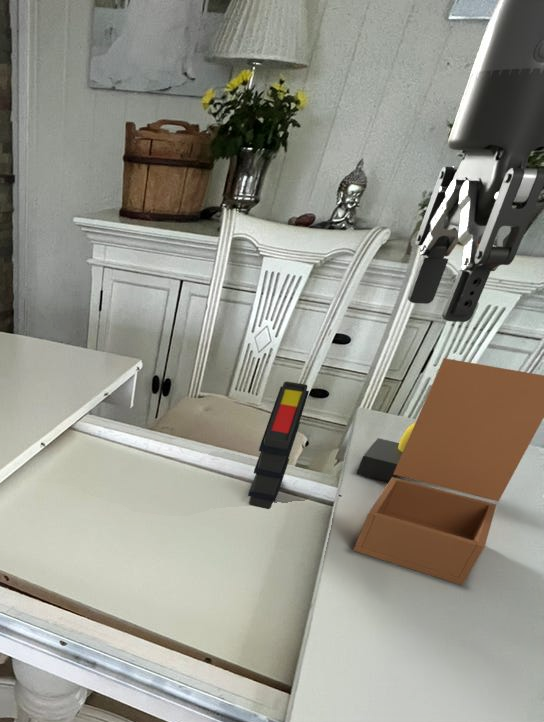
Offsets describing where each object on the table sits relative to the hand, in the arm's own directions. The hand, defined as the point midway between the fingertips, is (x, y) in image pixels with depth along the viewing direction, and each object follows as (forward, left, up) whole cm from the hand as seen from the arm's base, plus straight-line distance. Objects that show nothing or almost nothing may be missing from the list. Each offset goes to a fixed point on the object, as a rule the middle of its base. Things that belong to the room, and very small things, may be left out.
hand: (435, 311), depth 54 cm
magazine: (+14, -12, -28) cm, 33 cm away
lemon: (-1, -38, -23) cm, 45 cm away
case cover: (-7, -19, -15) cm, 25 cm away
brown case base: (-7, -11, -27) cm, 30 cm away
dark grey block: (+2, -35, -27) cm, 45 cm away
